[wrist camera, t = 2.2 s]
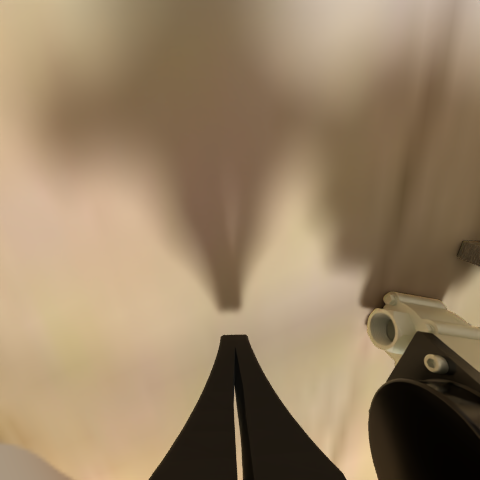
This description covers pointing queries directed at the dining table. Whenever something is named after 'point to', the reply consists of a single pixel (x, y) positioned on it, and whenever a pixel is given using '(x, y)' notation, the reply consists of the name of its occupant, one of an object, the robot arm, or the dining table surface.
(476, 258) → the guide rails
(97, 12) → the dining table surface
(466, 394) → the pneumatic valve
